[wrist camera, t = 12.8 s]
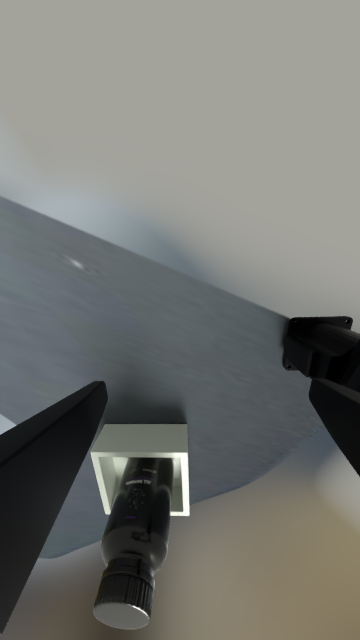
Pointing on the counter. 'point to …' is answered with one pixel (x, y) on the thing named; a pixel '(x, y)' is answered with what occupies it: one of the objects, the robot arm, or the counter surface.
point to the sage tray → (141, 442)
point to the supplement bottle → (135, 542)
